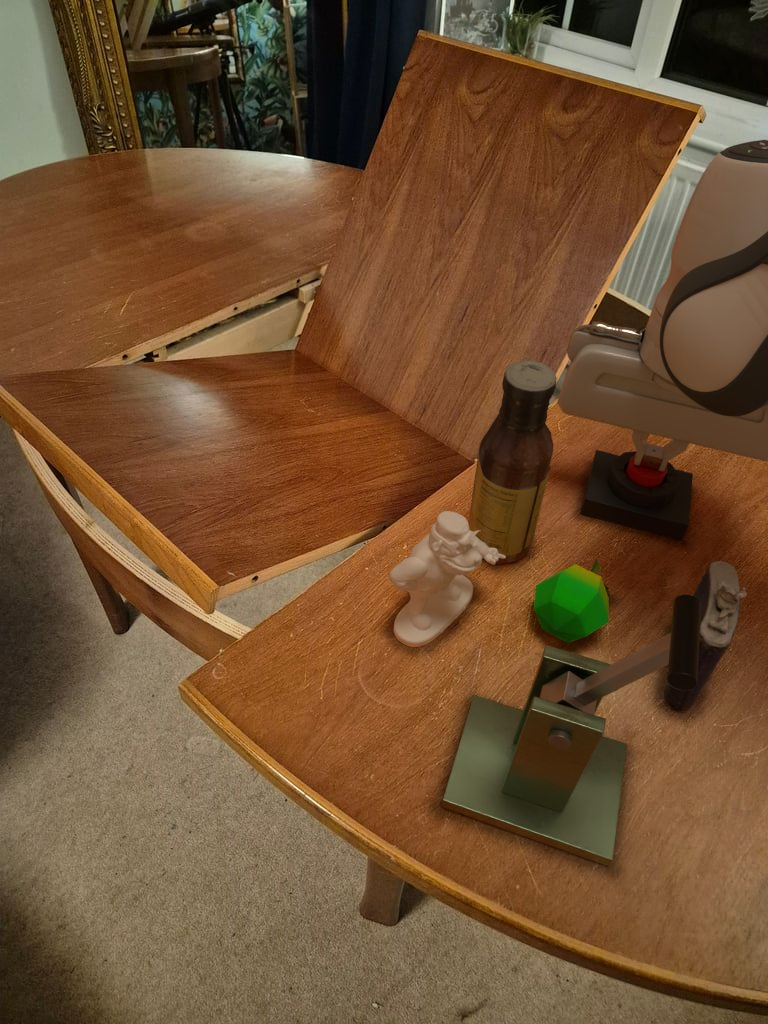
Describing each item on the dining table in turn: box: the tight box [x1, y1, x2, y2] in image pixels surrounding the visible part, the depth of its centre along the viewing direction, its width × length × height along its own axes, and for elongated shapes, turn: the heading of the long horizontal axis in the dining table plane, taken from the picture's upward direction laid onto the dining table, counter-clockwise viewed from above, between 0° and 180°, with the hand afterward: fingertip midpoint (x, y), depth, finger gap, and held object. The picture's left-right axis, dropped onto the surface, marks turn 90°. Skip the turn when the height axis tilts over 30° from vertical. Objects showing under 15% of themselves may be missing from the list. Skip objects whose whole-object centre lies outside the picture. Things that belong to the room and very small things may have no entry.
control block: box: [580, 449, 694, 542], centre depth 75 cm, size 10×8×4 cm
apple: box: [533, 559, 611, 644], centre depth 64 cm, size 7×6×9 cm
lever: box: [540, 593, 701, 715], centre depth 44 cm, size 12×6×2 cm
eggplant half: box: [661, 560, 748, 713], centre depth 59 cm, size 9×3×11 cm, turn 157°
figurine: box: [389, 510, 506, 648], centre depth 61 cm, size 9×7×12 cm
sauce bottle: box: [468, 360, 557, 565], centre depth 64 cm, size 6×6×20 cm
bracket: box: [440, 644, 628, 867], centre depth 50 cm, size 12×9×13 cm
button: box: [625, 455, 667, 488], centre depth 73 cm, size 4×4×2 cm
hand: (648, 464), depth 73 cm, fingers closed, pressing on button
